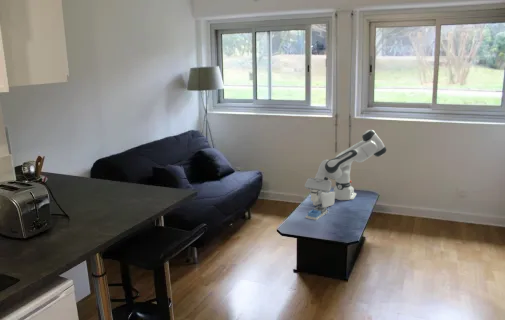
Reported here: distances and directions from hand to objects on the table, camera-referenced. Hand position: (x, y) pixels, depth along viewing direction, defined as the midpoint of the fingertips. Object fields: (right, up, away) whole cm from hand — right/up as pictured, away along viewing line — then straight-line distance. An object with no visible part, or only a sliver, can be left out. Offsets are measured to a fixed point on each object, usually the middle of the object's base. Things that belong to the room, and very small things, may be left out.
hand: (314, 195), depth 335 cm
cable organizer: (+11, -11, +27) cm, 31 cm away
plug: (0, -4, +2) cm, 4 cm away
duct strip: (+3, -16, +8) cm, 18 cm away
